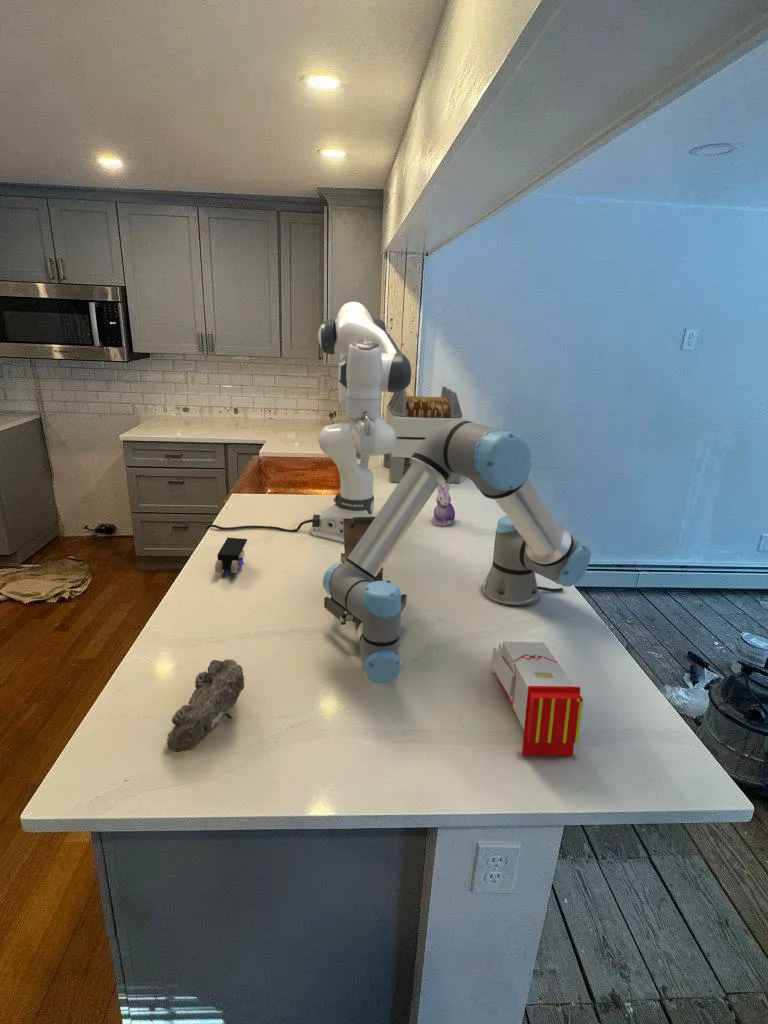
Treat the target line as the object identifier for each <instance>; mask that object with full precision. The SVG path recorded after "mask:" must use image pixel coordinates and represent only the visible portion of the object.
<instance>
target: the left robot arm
mask: <svg viewBox="0 0 768 1024" xmlns="http://www.w3.org/2000/svg"><path fill="white" fill-rule="evenodd" d="M317 332H318V334H317V341H318V344H319V346H320V349H321V351H322V352H323V353H324V354H328V355H339V358H338V365H337V387H338V388H337V389H338V390H337V391H338V403H339V406H340V407H341V409H343V410H344V411H345V416H346V417H347V418H349V422H337V423H332V424H328V425H325V426H324V427H322V429H321V431H320V432H319V435H318V444H319V447H320V450H321V451H322V452H323V454H325V455H326V456H327V457H329V458H330V459H331V460H332V462H333V463H334V464H335V466H336V467H337V470H338V474H339V483H340V484H339V485H340V488H339V489H340V490H339V491H338V492H337V494H336V495H335V496H334V497H333V502H334V504H333V505H331V506H329V507H328V508H326V509H325V510H323V512H321V514H313V515H312V518H311V519H307V520H304V521H301V522H300V523H299V524H298V526H297V528H294V529H288V528H283V527H279V526H271V525H240V526H229V527H227V526H226V527H223V526H220V525H217V524H208V525H207V526H205V528H204V529H205V530H208V529H210V528H215V529H218V530H220V531H235V530H244V529H265V530H277V531H281V532H287V533H288V532H289V533H296V532H298V531H300V530H301V528H302V526H303V525H306V524H309V523H311V527H312V528H311V530H310V533H311V536H315V537H319V538H323V539H326V540H330V541H336V542H339V543H343V544H344V528H343V519H344V518H353V517H374V513H373V512H374V509H375V496H374V474H373V472H372V471H371V469H369V461H370V457H378V456H384V454H388V453H391V452H392V451H393V449H394V447H395V445H396V433H395V431H394V429H393V428H392V427H391V426H390V425H389V424H387V423H386V420H384V419H383V418H382V417H381V416H382V392H386V393H393V394H394V393H400V392H402V391H403V390H406V389H407V388H408V387H409V386H410V384H411V380H412V366H411V362H410V360H409V358H408V357H407V356H406V354H404V353H403V352H402V351H401V350H400V348H399V347H398V345H397V344H396V342H395V341H394V339H393V338H392V336H391V335H390V333H389V331H388V328H387V326H386V323H385V322H384V320H383V319H380V318H378V317H377V318H376V317H372V316H371V313H370V312H369V311H368V309H367V307H365V305H363V304H362V303H360V302H358V301H349V302H346V303H345V304H343V305H342V306H341V307H340V309H339V310H338V313H337V316H336V318H332V317H330V318H329V319H327V320H324V321H323V322H322V323H321V324H320V327H319V329H318V331H317ZM357 460H359V462H360V463H358V462H357Z"/></svg>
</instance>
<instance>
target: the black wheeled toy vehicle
mask: <svg viewBox="0 0 768 1024" xmlns="http://www.w3.org/2000/svg"><path fill="white" fill-rule="evenodd" d="M247 542H248V538H240V537H226V539H225V541H224V543H223V544H222V546H221V547H220V549H219V551H218V552H217V560H216V562H215V564H214V572H215V573H221V577H222V578H224V577H225V576H226V574H227V573H230V574H231V573H232V574H231V578H234V577H235V575H236V573H237V572H239V571H240V567H242V566H243V565H244V564H245V562H244V558H245V551H244V547H245V546H246V544H247Z"/></svg>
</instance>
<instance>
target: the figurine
mask: <svg viewBox="0 0 768 1024" xmlns="http://www.w3.org/2000/svg"><path fill="white" fill-rule="evenodd" d="M437 493H438V494H437V496H436V498H435V501H436V503H437V504H436V506H435V507H434V508H433V518H432V523H434V525H435V526H440V527H445V526H450V525H452V524H453V523H454V521H455V517H456V511H455V508H454V506H453V504H452V503H451V502H452V498H451V494H450V483H448V482H447V483H445V485H444V487H443V485H442V484H440V485H438V486H437Z"/></svg>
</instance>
